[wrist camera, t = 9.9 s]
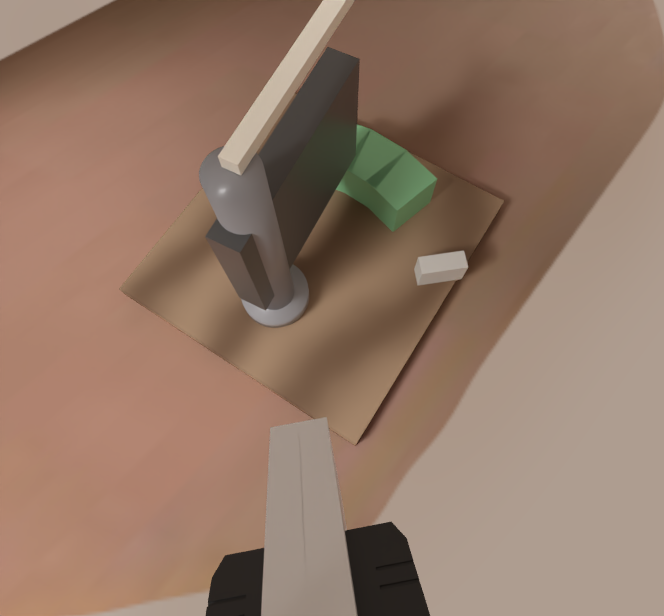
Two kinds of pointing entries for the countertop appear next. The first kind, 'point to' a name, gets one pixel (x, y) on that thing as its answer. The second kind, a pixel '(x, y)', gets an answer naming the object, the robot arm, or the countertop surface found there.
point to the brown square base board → (321, 297)
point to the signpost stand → (284, 171)
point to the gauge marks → (397, 196)
